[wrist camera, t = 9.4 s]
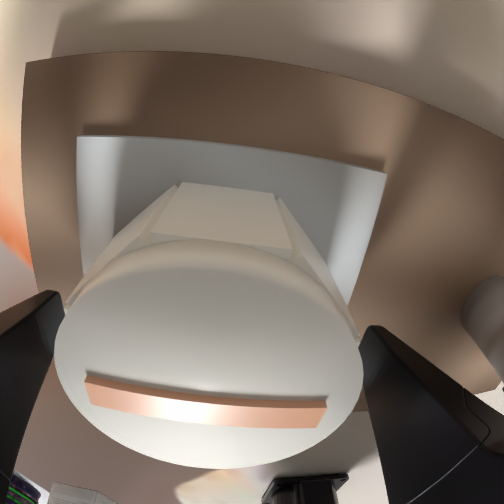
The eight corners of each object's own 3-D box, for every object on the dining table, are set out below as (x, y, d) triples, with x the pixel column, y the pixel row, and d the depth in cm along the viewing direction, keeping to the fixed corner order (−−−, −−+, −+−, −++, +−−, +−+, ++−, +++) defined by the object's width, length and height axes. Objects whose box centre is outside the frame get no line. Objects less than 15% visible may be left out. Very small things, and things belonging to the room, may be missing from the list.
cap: (342, 204, 9) (420, 296, 5) (293, 368, 12) (311, 475, 8) (112, 175, 8) (17, 248, 4) (122, 349, 11) (87, 452, 7)
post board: (485, 375, 17) (528, 446, 10) (76, 363, 14) (30, 474, 8) (572, 187, 11) (654, 239, 4) (49, 64, 8) (-108, 69, 2)
